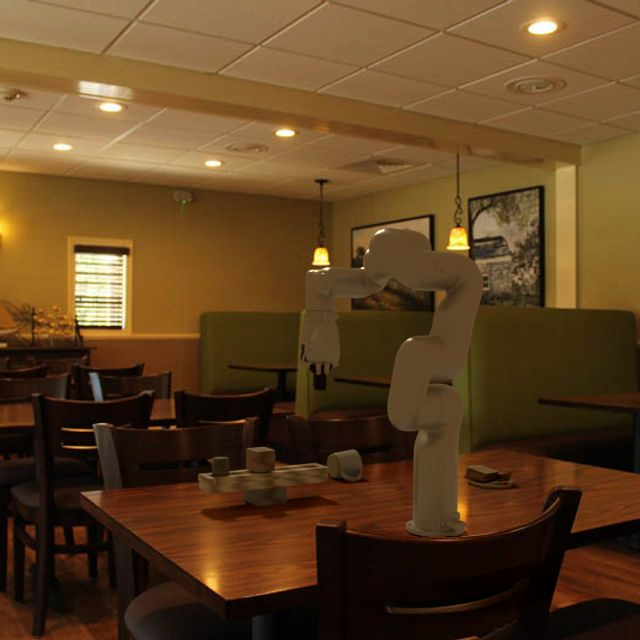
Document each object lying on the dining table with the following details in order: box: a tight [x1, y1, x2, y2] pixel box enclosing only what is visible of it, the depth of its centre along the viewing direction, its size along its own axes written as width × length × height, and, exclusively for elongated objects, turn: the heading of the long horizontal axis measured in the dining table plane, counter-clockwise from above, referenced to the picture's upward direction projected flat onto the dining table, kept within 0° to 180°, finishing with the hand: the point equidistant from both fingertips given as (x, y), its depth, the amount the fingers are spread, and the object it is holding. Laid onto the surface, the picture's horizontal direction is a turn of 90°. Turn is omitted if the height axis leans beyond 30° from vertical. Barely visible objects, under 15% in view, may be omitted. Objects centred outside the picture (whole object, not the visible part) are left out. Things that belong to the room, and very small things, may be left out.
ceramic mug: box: [326, 449, 363, 482], centre depth 231 cm, size 11×8×8 cm
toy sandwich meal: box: [463, 464, 516, 490], centre depth 225 cm, size 12×14×5 cm
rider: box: [245, 446, 276, 473], centre depth 200 cm, size 5×6×7 cm
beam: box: [197, 456, 330, 507], centre depth 201 cm, size 33×8×12 cm, turn 120°
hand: (319, 390), depth 207 cm, fingers closed
